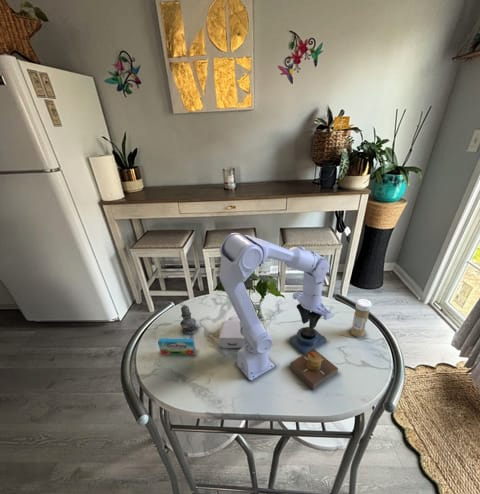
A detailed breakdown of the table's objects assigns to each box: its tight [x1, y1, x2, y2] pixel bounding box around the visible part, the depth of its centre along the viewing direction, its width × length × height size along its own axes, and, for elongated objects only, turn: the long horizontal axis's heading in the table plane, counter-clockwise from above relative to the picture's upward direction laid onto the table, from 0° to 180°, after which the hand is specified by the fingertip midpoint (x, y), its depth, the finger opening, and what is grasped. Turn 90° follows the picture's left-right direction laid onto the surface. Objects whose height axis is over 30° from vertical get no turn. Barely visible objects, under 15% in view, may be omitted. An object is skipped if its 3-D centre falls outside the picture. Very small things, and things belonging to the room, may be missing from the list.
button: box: [301, 326, 316, 339], centre depth 93 cm, size 4×4×2 cm
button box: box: [288, 326, 327, 355], centre depth 94 cm, size 10×8×4 cm
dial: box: [307, 352, 322, 370], centre depth 82 cm, size 4×4×4 cm
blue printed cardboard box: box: [157, 337, 197, 356], centre depth 92 cm, size 12×2×6 cm, turn 85°
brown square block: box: [289, 348, 339, 391], centre depth 83 cm, size 10×10×3 cm
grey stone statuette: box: [179, 304, 198, 335], centre depth 101 cm, size 6×6×12 cm
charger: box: [218, 314, 245, 349], centre depth 99 cm, size 5×9×15 cm
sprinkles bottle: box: [350, 298, 372, 338], centre depth 93 cm, size 5×5×14 cm
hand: (308, 324), depth 91 cm, fingers open, 3 cm apart
